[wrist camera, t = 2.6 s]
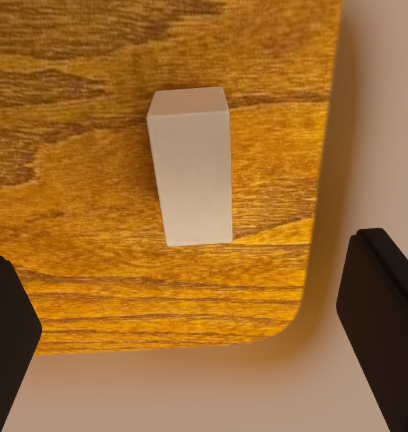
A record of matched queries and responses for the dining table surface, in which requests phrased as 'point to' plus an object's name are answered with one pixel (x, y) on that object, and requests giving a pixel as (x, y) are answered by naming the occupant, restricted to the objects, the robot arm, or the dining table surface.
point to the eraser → (192, 164)
